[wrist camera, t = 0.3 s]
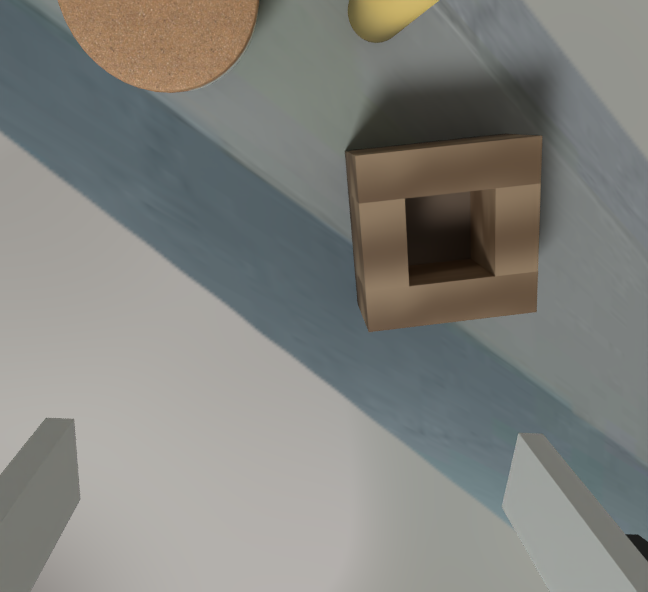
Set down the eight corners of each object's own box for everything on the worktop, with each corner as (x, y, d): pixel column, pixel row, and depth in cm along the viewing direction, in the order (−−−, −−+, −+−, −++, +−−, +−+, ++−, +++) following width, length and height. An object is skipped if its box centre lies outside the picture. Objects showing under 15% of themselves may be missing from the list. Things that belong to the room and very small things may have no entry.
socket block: (344, 150, 39) (355, 155, 33) (504, 133, 39) (542, 135, 33) (357, 303, 42) (368, 331, 37) (503, 286, 43) (536, 311, 37)
